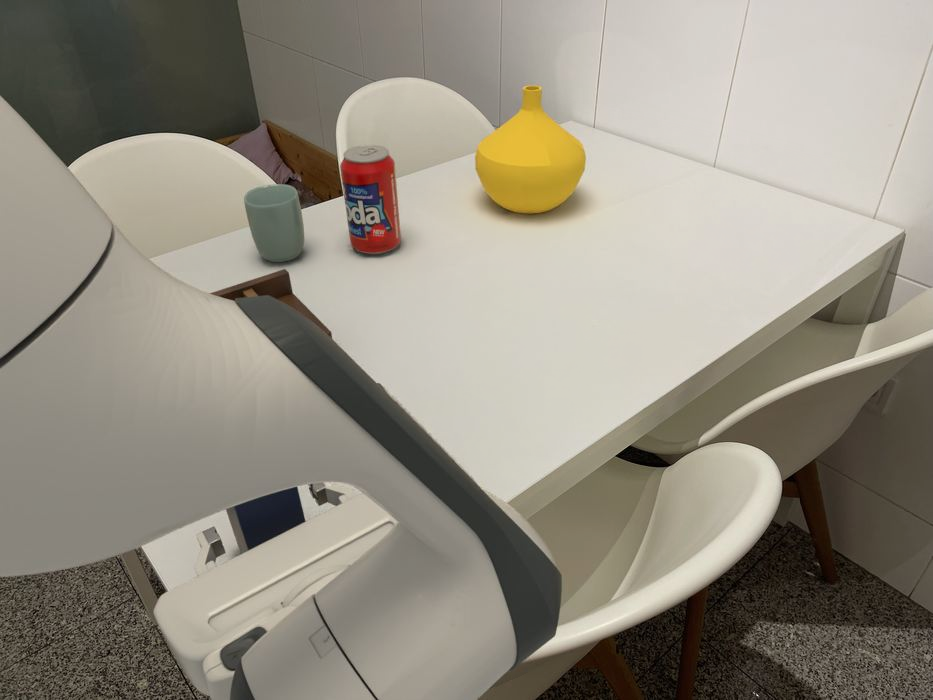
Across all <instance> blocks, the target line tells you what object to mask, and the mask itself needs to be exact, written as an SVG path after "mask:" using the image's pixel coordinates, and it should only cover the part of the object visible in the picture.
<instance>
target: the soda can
mask: <svg viewBox="0 0 933 700" xmlns="http://www.w3.org/2000/svg"><path fill="white" fill-rule="evenodd" d="M395 163H396V162H395V160H394V158H393V157H392V156H391V155H390V151H389V149H388V148H386V147H385V146H383V145H377V144H363V145H357V146H353V147H350V148H348V149H346V150H345V151H344V152H343V159H342V161H341V162H340V164H339V165H340V176H341V183H342V188H343V189H342V190H343V191H342V192H343V197H344V198H343V199H344V205H345V206H344V207H345V213H346V221H347V229H348V235H349V242H350V246H351V247H352V248H353V249H354V250H356V251H358V252H360V253H364V254H366V255H367V254H368V255H382V254H385V253H388V252H390V251H391V250H394V249H395V248H397V247H398V246H399V245H400V243H401V241H402V232H401V231H402V230H401V222H400V221H401V220H400V219H401V218H400V208H399V197H398V187H397V186H398V184H397V174H396V164H395Z"/></svg>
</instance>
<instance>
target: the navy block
mask: <svg viewBox="0 0 933 700" xmlns="http://www.w3.org/2000/svg"><path fill="white" fill-rule="evenodd" d="M298 487H299V486H297V487H293V488H290V489H286V490H282V491H279V492H275V493H272V494H269V495H265V496H262V497H259V498H256V499H253V500H250V501H247V502H245V503H242V504H239V505H236V506H233V507H231V508H228V509H226V510H225V511H226V514H227V517H228V520H229V524H230V526H231V529H232V532H233V535H234V538H235V541H236V544H237V546H238V550H239V553H240V555H241V554H243V553H245V552H247V551H249V550H251V549H253V548H255V547H257V546H259V545H261V544H262V543H264V542H266V541H268V540H270V539H272V538H274V537H276V536H278V535H280V534H282V533H284V532H286V531H288V530H290V529H292V528H294V527H296V526H298V525H300V524H302V523H304V522H306V521H307V520H306V517H305V513H304V509H303V505H302V500H301V496H300V492H299V488H298Z"/></svg>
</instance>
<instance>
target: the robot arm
mask: <svg viewBox="0 0 933 700" xmlns="http://www.w3.org/2000/svg"><path fill="white" fill-rule="evenodd" d="M210 293H211V292H207V291H205V290H202V289H200V288H197V287H195V286H192V285H191V284H188V283H186V282H184V281H183V280H180V279H178V278H177V277H176V276H173V275H172V274H170V273H169V272H167V271H166V270H164V269H163V268H161V267H160V266H159V265H157V264H156V263H155V262H153V261H152V260H151V259H149V257H148V256H146V255H144V254H143V252H141V251H140V250H139V249H138V248H137V247H136V246H135V245H134V244H133V243H132V242H131V241H130V240H129V239H128V238H127V237H126V236H125V234H124V233H123V232H122V231H121V230H120V228H119V227H118V226H117V225H116V224H115V222H114V221H113V220H112V219H111V218H110V217H109V215H108V214H107V212H105V210H104V209H103V208H102V207H101V205H100V204H99V203H98V201H96V199H95V198H94V196H92V194H91V193H90V192H89V191H88V189H86V187H85V186H84V185H83V184H82V182H81V181H79V179H78V178H77V177H76V176H75V174H74V173H73V172H72V171H71V169H70V168H69V167H68V166H67V165H66V163H64V161H62V160H61V158H60V157H59V156H58V155H57V154H56V153H55V151H53V150H52V148H51V147H50V146H49V145H48V144H47V142H45V141H44V140H43V138H42V137H41V136H40V135H39V134H38V133H37V132H36V130H34V128H32V127H31V125H30V124H29V123H28V122H27V121H26V120H25V119H24V118H23V117H22V116H21V115H20V114H19V112H17V110H15V108H13V107H12V106H11V105H10V103H8V101H6V100H5V98H4V97H2V95H0V578H7V577H21V576H32V575H39V574H48V573H54V572H59V571H64V570H69V569H75V568H79V567H83V566H88V565H91V564H95V563H99V562H102V561H105V560H108V559H109V560H110V559H111V558H114V557H118V556H120V555H123V554H126V553H128V552H131V551H133V550H137V549H138V548H140V547H143V546H145V545H148V544H150V543H152V542H154V541H156V540H159V539H161V538H163V537H166V536H167V535H170V534H172V533H174V532H176V531H178V530H180V529H183V528H185V527H188V526H190V525H192V524H194V523H196V522H199V521H201V520H203V519H206V518H208V517H211V516H212V515H215V514H218V513H220V512H223V511H226V509H228V508H231V507H233V506H236V505H239V504H242V503H245V502H247V501H250V500H253V499H256V498H259V497H262V496H265V495H269V494H272V493H275V492H279V491H282V490H286V489H290V488H293V487H303V486H306V485H308V491H309V493H310V496H311V497H312V499H314V501H315V503H316V504H317V506H318V507H321V506H323V505H325V504H327V503H328V504H330V505H333V506H334V507H331V508H330V509H328V510H326V511H324V512H322V513H320V514H318V515H316V516H314V517H312V518H310V519H308V520H305V521H306V522H304V523H302V524H300V525H298V526H296V527H294V528H292V529H290V530H288V531H286V532H284V533H282V534H280V535H278V536H276V537H274V538H272V539H270V540H268V541H266V542H264V543H262V544H261V545H259V546H257V547H255V548H253V549H251V550H249V551H247V552H245V553H243V554H241V553H240V554H239V555H237V556H235V557H233V558H231V559H229V560H227V561H225V562H223V563H221V564H219V565H216V561H217V558H219V557H221V556H223V555H225V554H226V549H225V547H224V545H223V541H222V538H221V536H220V534H219V532H217V529H216V527H215V526H212V527H209V528H207V529H205V530H202V531H200V532H198V533H196V534H195V536H196V539H197V541H198V544H199V546H200V547H199V548H200V550H199V553H198V557H197V558H196V559H197V560H196V563H195V567H194V571H195V574H196V575H197V576H195V577H194V578H192V579H189V580H187V581H186V582H184V583H182V584H179V585H178V586H175V587H174V588H171V589H170V590H168V591H167V590H166V591H165V592H164V593H162V594H161V595H159V598H158V599H157V601H156V604H155V606H154V608H153V610H152V611H153V612H152V614H153V616H154V618H155V621H156V623H157V625H158V628H159V630H160V632H161V633H162V636H163V638H164V640H165V642H166V644H167V647H168V648H169V650H170V651H171V653H172V655H173V657H174V659H175V660H176V662H177V664H178V666H179V667H180V669H181V670H182V672H183V673H184V675H185V676H186V677H187V678H186V679H188V680H189V682H190V683H191V684H192V686H193V687H194V688H195V689H196V690H197V691H198V692H200V693H201V694H203V695H204V696H208V697H210V700H478V699H479V698H480V697H482V696H483V695H484V694H485V693H486V692H488V690H489V689H490V688H491V687H493V685H495V683H497V682H498V681H499V680H500V679H501V678H502V677H503V676H504V675H505V674H506V673H507V672H509V671H512V670H514V669H515V668H517V667H519V665H520V664H522V663H524V661H526V660H527V659H528V658H529V657H530V656H532V655H533V654H535V652H537V651H538V650H539V649H541V648H542V647H543V646H545V645H546V644H548V642H550V641H551V640H552V639H553V638H555V637H556V634H557V630H558V626H559V619H560V612H561V607H562V606H561V605H562V592H563V579H562V573H561V572H560V569H558V565H557V562H556V561H555V558H554V556H553V554H552V552H551V550H550V549H549V546H547V544H546V542H545V541H544V539H543V538H542V537H541V535H540V534H539V533H538V531H537V529H535V528H534V527H533V526H532V524H531V523H530V522H529V521H528V520H527V519H526V518H525V517H524V516H522V515H521V513H519V511H517V510H516V509H515V508H514V507H512V506H511V505H510V504H509V503H507V502H506V501H504V500H503V499H502V498H500V497H499V496H497V495H495V494H494V493H492V492H490V491H488V490H487V489H485V488H484V487H482V486H481V485H479V484H478V483H477V481H476V480H475V479H474V477H473V476H472V475H470V473H469V472H468V471H467V470H466V469H465V468H464V467H463V465H462V464H460V463H459V462H458V461H457V460H456V459H455V457H454V456H453V455H452V454H451V453H450V452H449V451H448V450H447V449H446V448H445V447H444V446H443V445H442V444H441V443H440V442H439V441H438V440H437V439H436V438H435V437H434V436H433V435H432V433H430V432H428V430H427V429H426V427H424V425H423V424H422V423H421V422H419V421H418V419H416V418H415V416H413V415H412V413H411V411H409V410H408V409H407V408H406V407H405V406H404V405H403V404H402V402H400V401H399V400H398V399H397V398H396V397H395V395H393V394H392V393H390V391H389V390H388V389H387V388H386V387H385V386H384V385H382V384H381V383H380V382H376V381H375V379H374V378H372V377H371V376H370V375H369V374H368V373H367V372H366V371H365V370H364V368H362V367H361V366H360V365H359V364H358V363H357V362H356V360H354V359H353V358H352V357H351V356H350V355H349V354H348V353H347V352H346V350H344V349H343V348H342V347H341V346H340V345H339V343H337V342H336V341H335V340H334V338H333V337H332V338H331V337H330V336H328V335H327V334H326V333H325V332H324V331H323V330H322V329H321V328H320V327H318V326H317V325H316V324H315V323H313V322H312V321H311V320H310V319H308V318H307V317H305V316H304V315H303V314H301V313H300V312H298V311H297V310H295V309H294V308H292V307H290V306H289V305H287V304H285V303H283V302H282V301H279V300H277V299H275V298H273V297H271V296H269V295H265V296H255V297H245V298H235V301H233V300H229V299H225V298H222V297H219V296H215V295H213V294H210ZM336 483H340V484H344V485H349V486H350V487H354V488H355V489H356V490H358V491H359V492H361V493H360V494H357V493H356V492H355V490H354V489H351V488H349V487H345V486H342V485H340V484H339V485H338V484H336Z"/></svg>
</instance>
